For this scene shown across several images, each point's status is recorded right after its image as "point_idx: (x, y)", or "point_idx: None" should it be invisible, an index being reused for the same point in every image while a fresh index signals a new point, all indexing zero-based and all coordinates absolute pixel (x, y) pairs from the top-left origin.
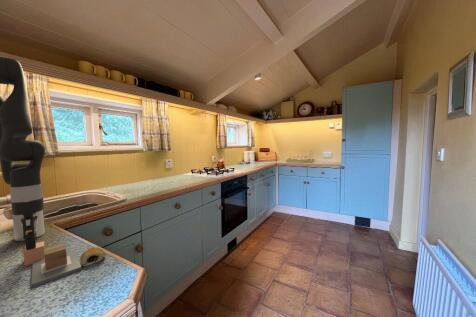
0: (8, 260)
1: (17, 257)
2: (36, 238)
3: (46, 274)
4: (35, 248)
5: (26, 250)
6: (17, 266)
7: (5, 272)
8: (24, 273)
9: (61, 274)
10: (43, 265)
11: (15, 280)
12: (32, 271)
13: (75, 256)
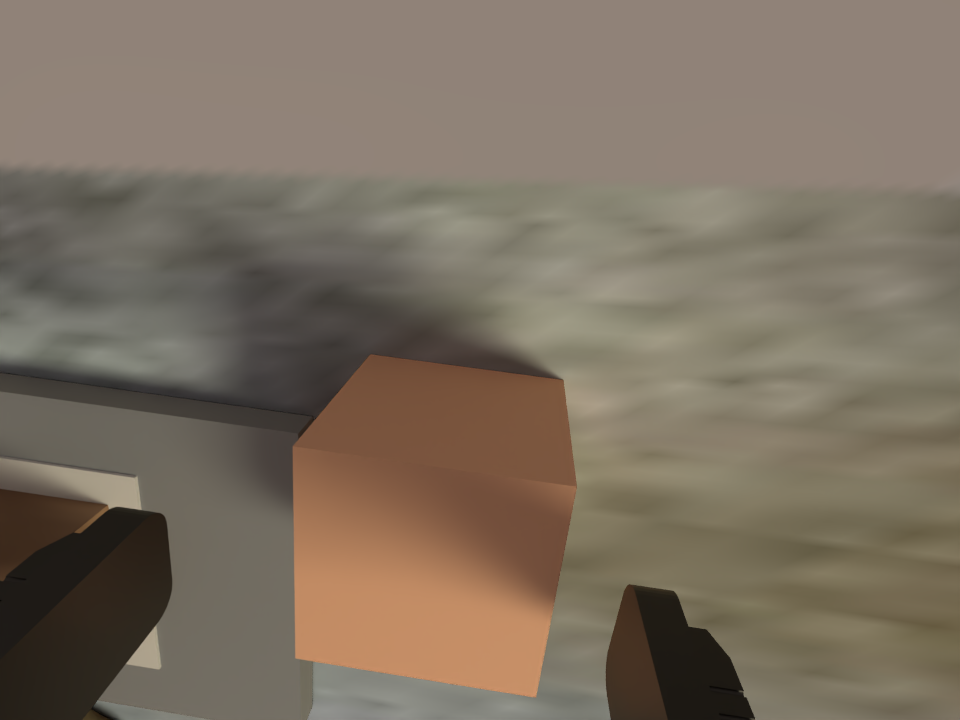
0: (780, 230)
1: (775, 322)
2: (610, 701)
3: None
4: (299, 571)
5: (302, 483)
6: (422, 297)
7: (347, 185)
8: (143, 331)
9: None
10: (86, 486)
11: (28, 254)
12: (13, 396)
13: None
